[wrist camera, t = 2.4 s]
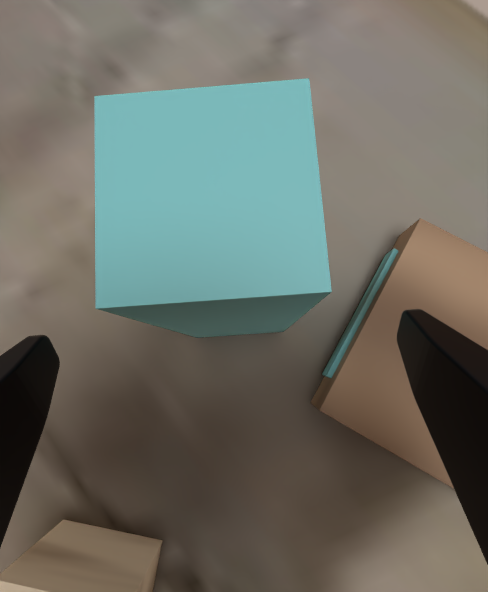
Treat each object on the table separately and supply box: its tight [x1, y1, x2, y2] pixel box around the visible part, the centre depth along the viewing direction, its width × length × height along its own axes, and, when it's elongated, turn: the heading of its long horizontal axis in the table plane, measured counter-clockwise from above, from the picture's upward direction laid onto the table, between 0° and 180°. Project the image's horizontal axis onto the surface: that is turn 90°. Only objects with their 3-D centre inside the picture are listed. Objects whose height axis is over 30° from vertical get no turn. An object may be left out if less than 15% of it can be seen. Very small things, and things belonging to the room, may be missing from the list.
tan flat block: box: [311, 218, 488, 488], centre depth 18 cm, size 10×10×3 cm
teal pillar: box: [95, 78, 332, 338], centre depth 14 cm, size 4×4×12 cm
